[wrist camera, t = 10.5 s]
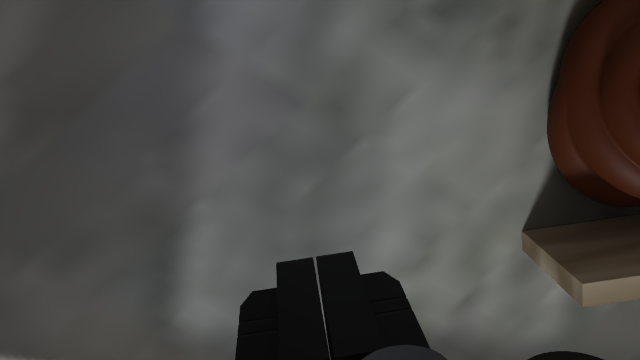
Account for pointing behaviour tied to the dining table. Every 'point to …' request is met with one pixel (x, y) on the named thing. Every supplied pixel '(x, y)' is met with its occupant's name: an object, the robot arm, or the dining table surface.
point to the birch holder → (590, 258)
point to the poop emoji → (600, 106)
